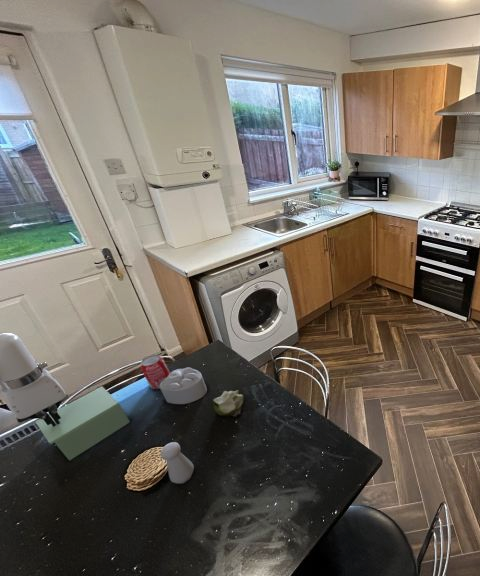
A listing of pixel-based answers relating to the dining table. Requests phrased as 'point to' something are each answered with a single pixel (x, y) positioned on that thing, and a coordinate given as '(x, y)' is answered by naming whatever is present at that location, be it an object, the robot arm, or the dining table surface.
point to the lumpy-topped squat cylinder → (183, 386)
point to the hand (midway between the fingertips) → (55, 422)
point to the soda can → (154, 370)
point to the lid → (78, 414)
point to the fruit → (228, 403)
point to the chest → (92, 432)
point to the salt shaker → (177, 463)
